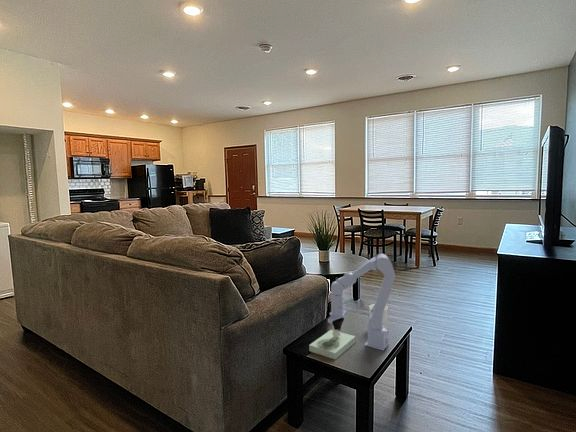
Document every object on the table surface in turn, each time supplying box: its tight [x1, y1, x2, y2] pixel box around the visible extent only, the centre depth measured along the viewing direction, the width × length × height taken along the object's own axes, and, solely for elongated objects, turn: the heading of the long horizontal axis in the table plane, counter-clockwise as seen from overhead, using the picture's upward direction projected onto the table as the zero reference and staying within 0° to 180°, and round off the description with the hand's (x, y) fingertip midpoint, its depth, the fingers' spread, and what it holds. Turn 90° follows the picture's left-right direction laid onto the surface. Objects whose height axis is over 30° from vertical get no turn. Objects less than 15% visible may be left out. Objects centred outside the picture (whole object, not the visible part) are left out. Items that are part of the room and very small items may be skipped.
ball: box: [332, 329, 342, 338], centre depth 167 cm, size 4×4×4 cm
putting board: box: [308, 329, 357, 360], centre depth 164 cm, size 14×20×3 cm
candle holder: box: [368, 303, 389, 330], centre depth 181 cm, size 10×10×12 cm
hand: (337, 332), depth 168 cm, fingers closed, pressing on ball
